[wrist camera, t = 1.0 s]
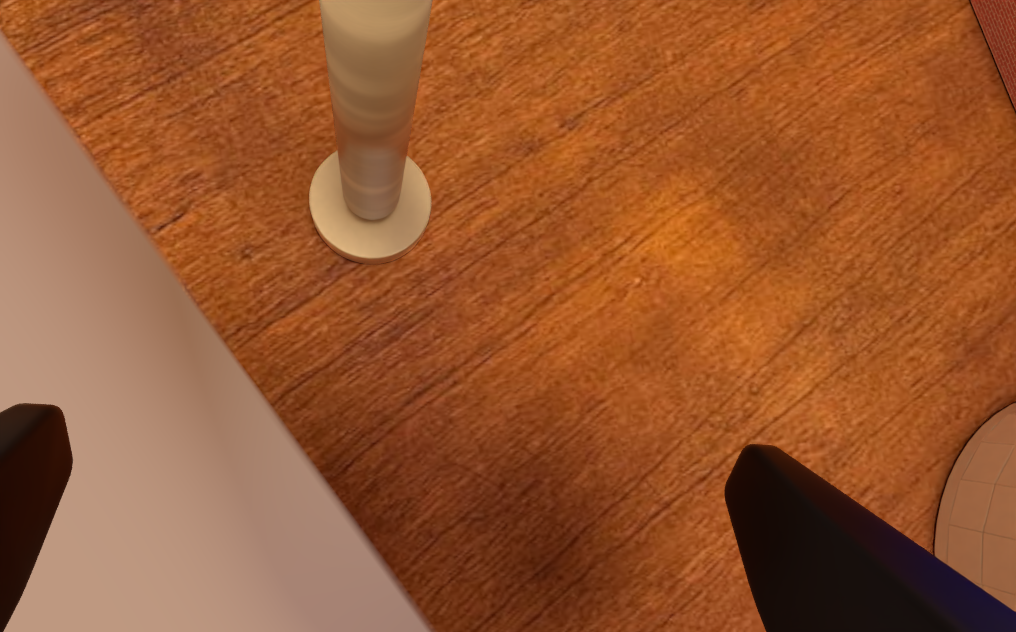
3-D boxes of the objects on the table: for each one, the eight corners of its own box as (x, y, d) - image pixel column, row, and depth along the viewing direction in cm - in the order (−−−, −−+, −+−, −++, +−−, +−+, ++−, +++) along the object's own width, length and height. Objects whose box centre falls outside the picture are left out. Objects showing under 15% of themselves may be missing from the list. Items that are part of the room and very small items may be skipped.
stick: (357, 287, 22) (331, 21, 6) (287, 191, 22) (83, -324, 6) (450, 224, 23) (632, -142, 7) (385, 132, 23) (424, -440, 7)
